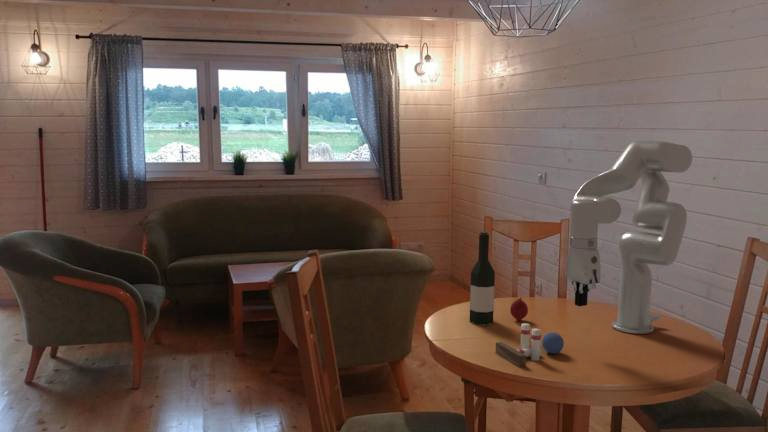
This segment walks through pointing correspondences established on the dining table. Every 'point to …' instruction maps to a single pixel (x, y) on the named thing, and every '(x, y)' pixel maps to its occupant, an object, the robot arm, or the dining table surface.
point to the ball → (552, 343)
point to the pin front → (527, 351)
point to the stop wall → (511, 354)
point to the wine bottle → (482, 285)
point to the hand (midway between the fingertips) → (580, 305)
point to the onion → (519, 309)
